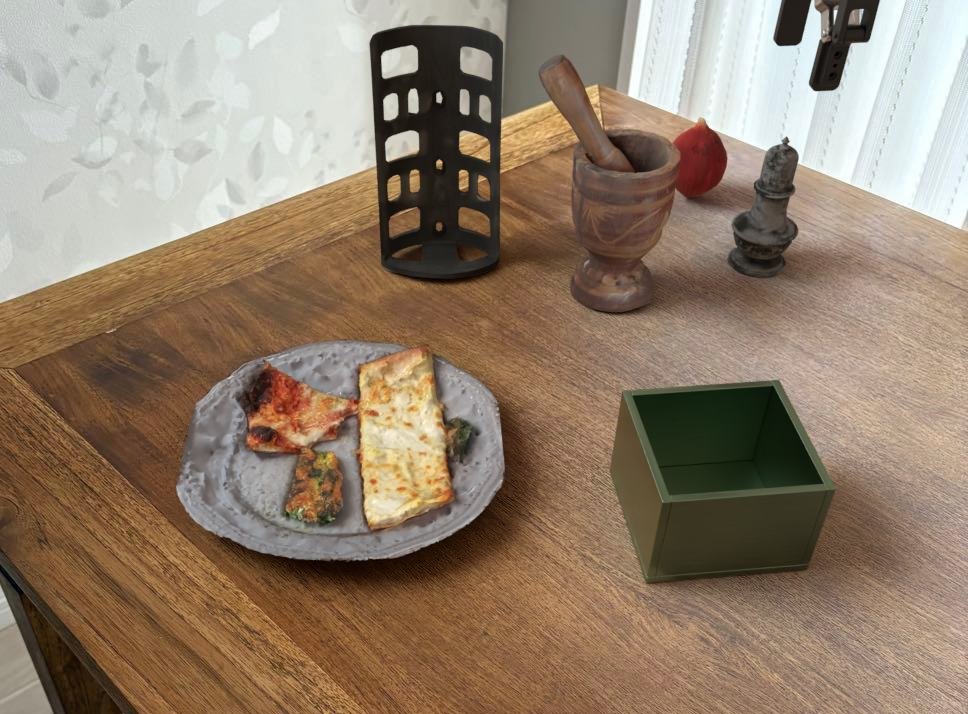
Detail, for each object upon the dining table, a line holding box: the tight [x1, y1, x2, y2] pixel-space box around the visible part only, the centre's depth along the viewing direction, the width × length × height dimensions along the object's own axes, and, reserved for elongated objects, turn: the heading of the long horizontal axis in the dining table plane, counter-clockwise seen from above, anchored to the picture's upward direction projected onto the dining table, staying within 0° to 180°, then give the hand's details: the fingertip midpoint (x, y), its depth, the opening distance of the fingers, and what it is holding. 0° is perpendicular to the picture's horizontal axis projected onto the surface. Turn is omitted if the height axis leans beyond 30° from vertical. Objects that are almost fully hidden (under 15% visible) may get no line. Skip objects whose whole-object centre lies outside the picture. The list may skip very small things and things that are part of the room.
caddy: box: [609, 379, 837, 584], centre depth 76 cm, size 11×11×8 cm
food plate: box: [175, 338, 506, 563], centre depth 82 cm, size 25×23×4 cm
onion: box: [672, 117, 728, 199], centre depth 107 cm, size 6×6×8 cm
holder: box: [369, 24, 504, 280], centre depth 96 cm, size 11×8×20 cm
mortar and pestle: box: [537, 53, 681, 313], centre depth 91 cm, size 12×9×20 cm
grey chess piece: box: [726, 136, 800, 278], centre depth 98 cm, size 6×6×12 cm
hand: (803, 65), depth 89 cm, fingers open, 8 cm apart
